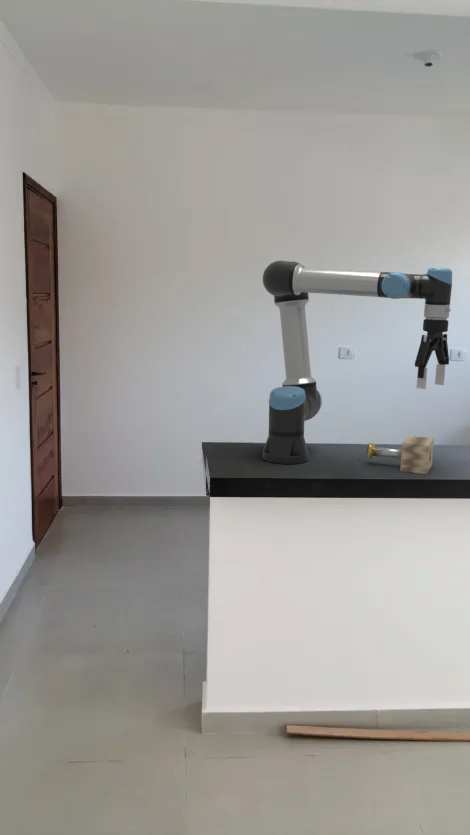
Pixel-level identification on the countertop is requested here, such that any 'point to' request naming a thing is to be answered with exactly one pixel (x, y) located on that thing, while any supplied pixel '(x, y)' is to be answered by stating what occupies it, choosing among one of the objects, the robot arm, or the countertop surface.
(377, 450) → the pin
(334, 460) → the countertop surface
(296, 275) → the robot arm
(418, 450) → the bore block
